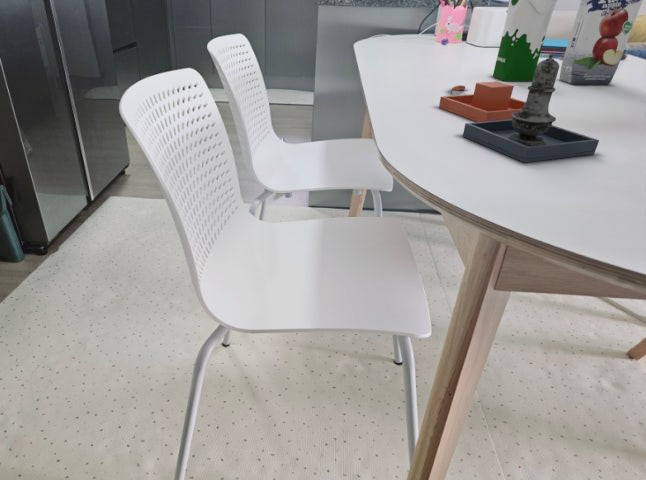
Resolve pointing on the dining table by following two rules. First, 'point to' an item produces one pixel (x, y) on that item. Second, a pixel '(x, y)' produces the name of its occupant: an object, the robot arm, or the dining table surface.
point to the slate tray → (556, 146)
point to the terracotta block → (492, 96)
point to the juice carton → (598, 41)
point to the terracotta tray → (464, 108)
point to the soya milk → (523, 39)
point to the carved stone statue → (536, 106)
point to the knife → (457, 90)
